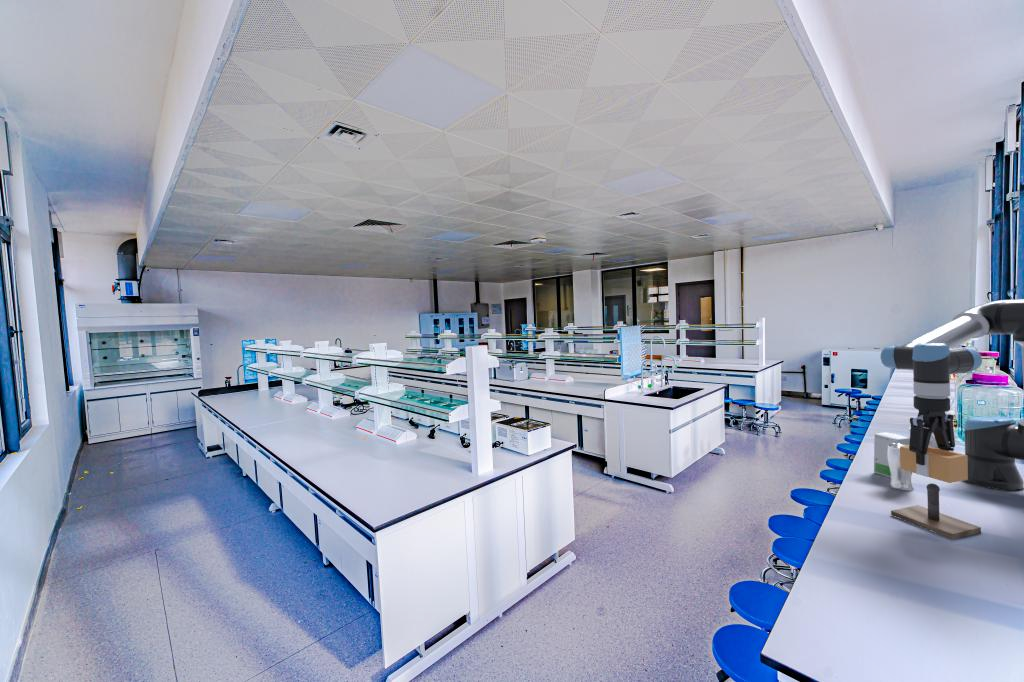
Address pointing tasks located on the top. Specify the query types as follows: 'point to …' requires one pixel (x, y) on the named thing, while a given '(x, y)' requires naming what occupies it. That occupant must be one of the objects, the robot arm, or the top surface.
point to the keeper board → (937, 526)
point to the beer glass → (898, 469)
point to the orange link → (938, 464)
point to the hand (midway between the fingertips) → (932, 473)
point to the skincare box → (885, 450)
